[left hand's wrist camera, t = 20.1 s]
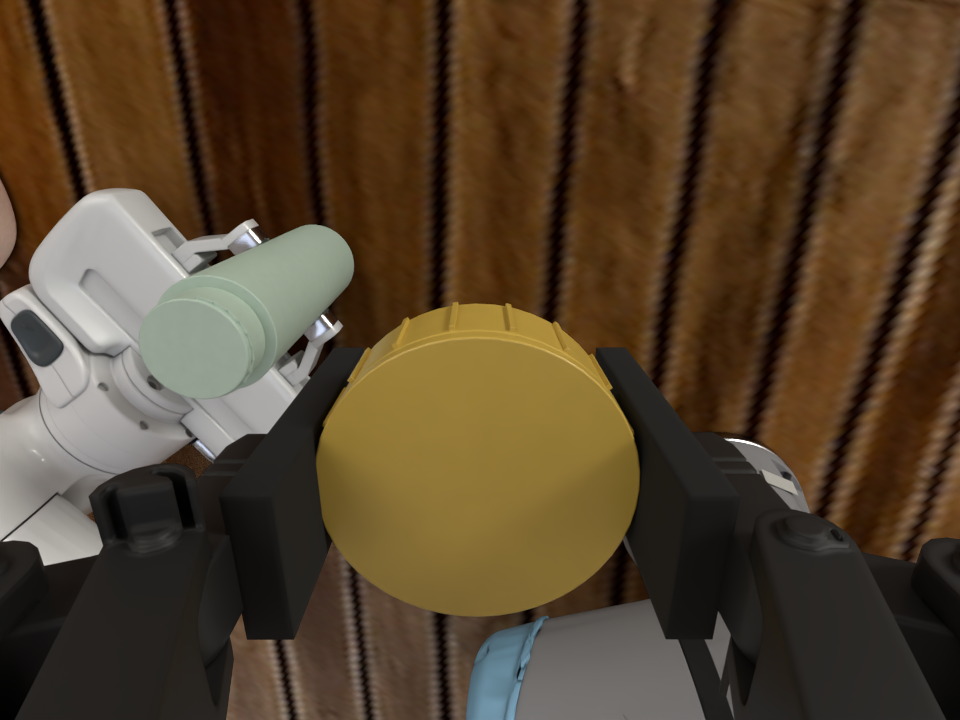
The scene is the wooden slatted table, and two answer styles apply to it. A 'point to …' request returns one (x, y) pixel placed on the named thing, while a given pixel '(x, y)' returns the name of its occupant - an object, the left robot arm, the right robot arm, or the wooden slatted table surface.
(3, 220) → the anatomical model
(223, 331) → the pale green bottle
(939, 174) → the wooden slatted table surface
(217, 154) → the wooden slatted table surface
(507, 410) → the lid
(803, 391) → the wooden slatted table surface
